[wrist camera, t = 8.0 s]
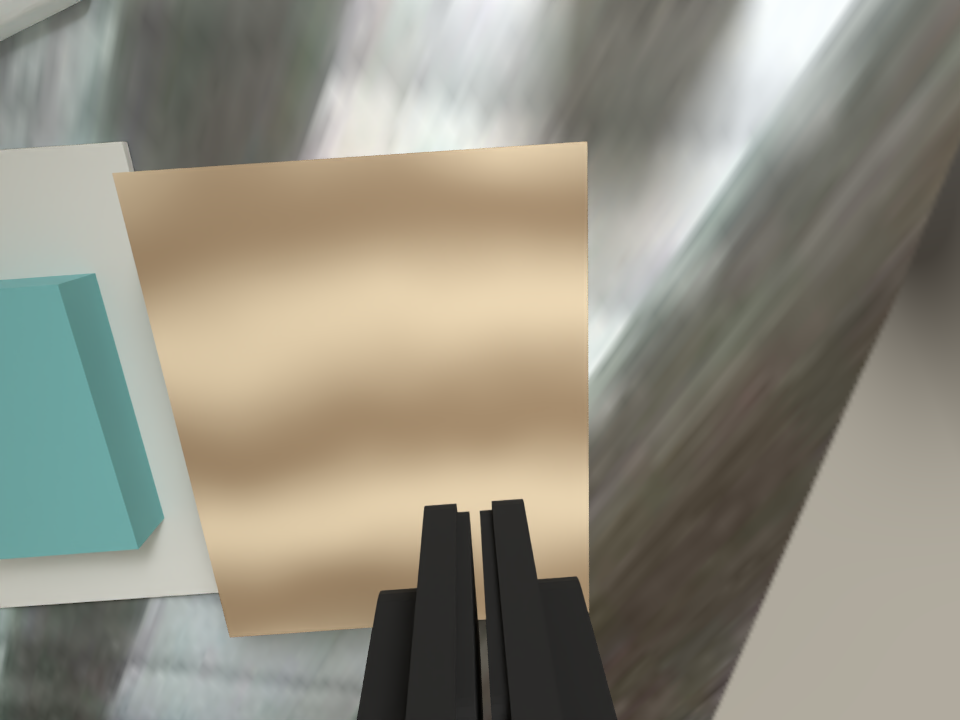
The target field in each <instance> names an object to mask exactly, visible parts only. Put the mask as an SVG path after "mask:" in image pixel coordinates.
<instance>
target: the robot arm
mask: <svg viewBox="0 0 960 720" xmlns="http://www.w3.org/2000/svg"><path fill="white" fill-rule="evenodd" d="M480 527H481V544H482V561H483V578H484V595H485V612H486V629H487V646H488V663H489V680H490V697H491V713H492V720H617V717H616V713H615V710H614V706H613V702H612V699H611V695H610V691H609V688H608V684H607V680H606V676H605V673H604V669H603V665H602V662H601V658H600V654H599V651H598V647H597V643H596V640H595V636H594V632H593V628H592V625H591V621H590V617H589V614H588V610H587V606H586V603H585V599H584V595H583V592H582V588H581V585H580V582H579V579H578V578H577V576H574V577H561V578H547V579H538V578H537V573H536V567H535V561H534V556H533V550H532V545H531V539H530V533H529V528H528V522H527V517H526V511H525V506H524V501H523V499H513V500H499V501H492V510H481V511H480ZM357 720H483V703H482V680H481V658H480V639H479V625H478V613H477V600H476V587H475V575H474V562H473V549H472V536H471V524H470V512H469V511H467V512H457V504H442V505H428V506H425V507H424V513H423V525H422V536H421V548H420V559H419V570H418V582H417V588H410V589H396V590H382V591H380V593H379V595H378V599H377V604H376V610H375V616H374V622H373V628H372V634H371V640H370V645H369V651H368V657H367V663H366V669H365V675H364V681H363V687H362V693H361V699H360V704H359V710H358V716H357Z"/></svg>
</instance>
